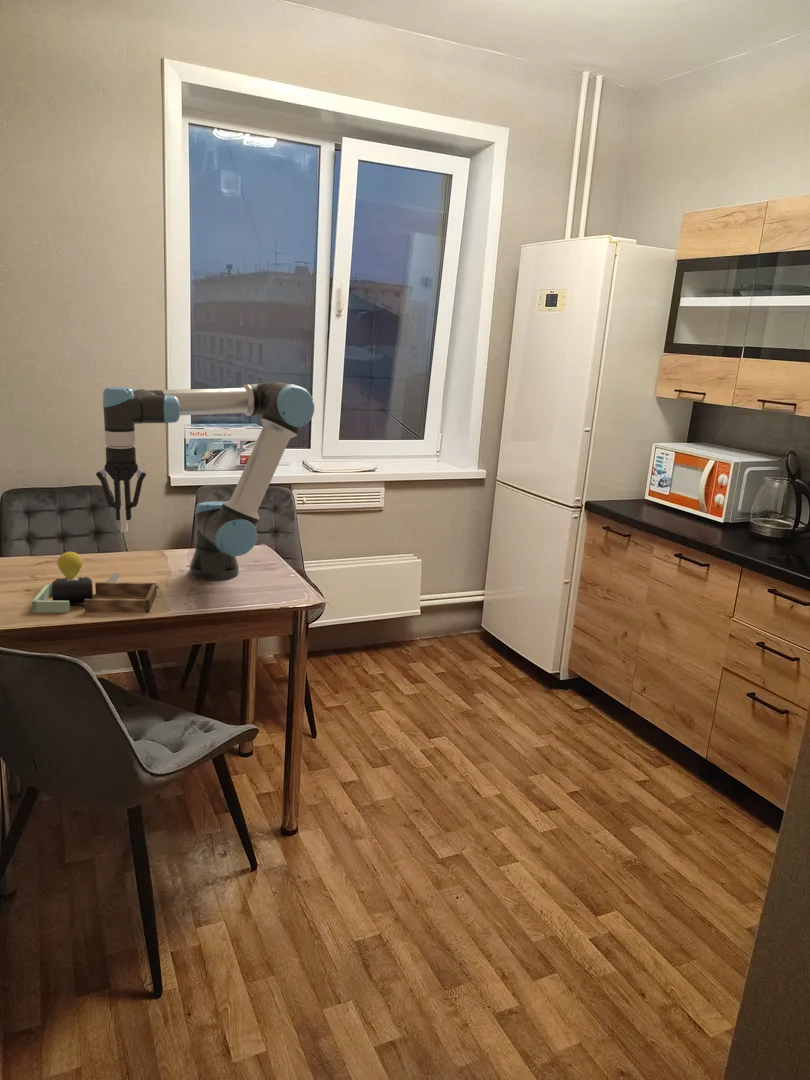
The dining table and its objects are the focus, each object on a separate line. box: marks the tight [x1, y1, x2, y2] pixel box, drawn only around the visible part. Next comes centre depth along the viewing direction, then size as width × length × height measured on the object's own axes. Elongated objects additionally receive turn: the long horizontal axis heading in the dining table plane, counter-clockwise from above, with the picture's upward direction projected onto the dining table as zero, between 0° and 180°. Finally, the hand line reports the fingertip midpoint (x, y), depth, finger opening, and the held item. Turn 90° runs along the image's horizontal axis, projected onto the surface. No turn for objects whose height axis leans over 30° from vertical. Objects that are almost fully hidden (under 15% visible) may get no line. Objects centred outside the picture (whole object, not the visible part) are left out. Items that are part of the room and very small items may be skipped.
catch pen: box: [31, 582, 71, 614], centre depth 208 cm, size 9×15×3 cm, turn 10°
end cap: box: [51, 576, 94, 605], centre depth 209 cm, size 10×7×7 cm
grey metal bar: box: [106, 572, 120, 582], centre depth 227 cm, size 10×2×2 cm, turn 7°
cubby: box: [83, 581, 158, 614], centre depth 211 cm, size 16×15×4 cm
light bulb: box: [57, 551, 83, 581], centre depth 222 cm, size 7×7×10 cm
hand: (124, 531), depth 210 cm, fingers closed
